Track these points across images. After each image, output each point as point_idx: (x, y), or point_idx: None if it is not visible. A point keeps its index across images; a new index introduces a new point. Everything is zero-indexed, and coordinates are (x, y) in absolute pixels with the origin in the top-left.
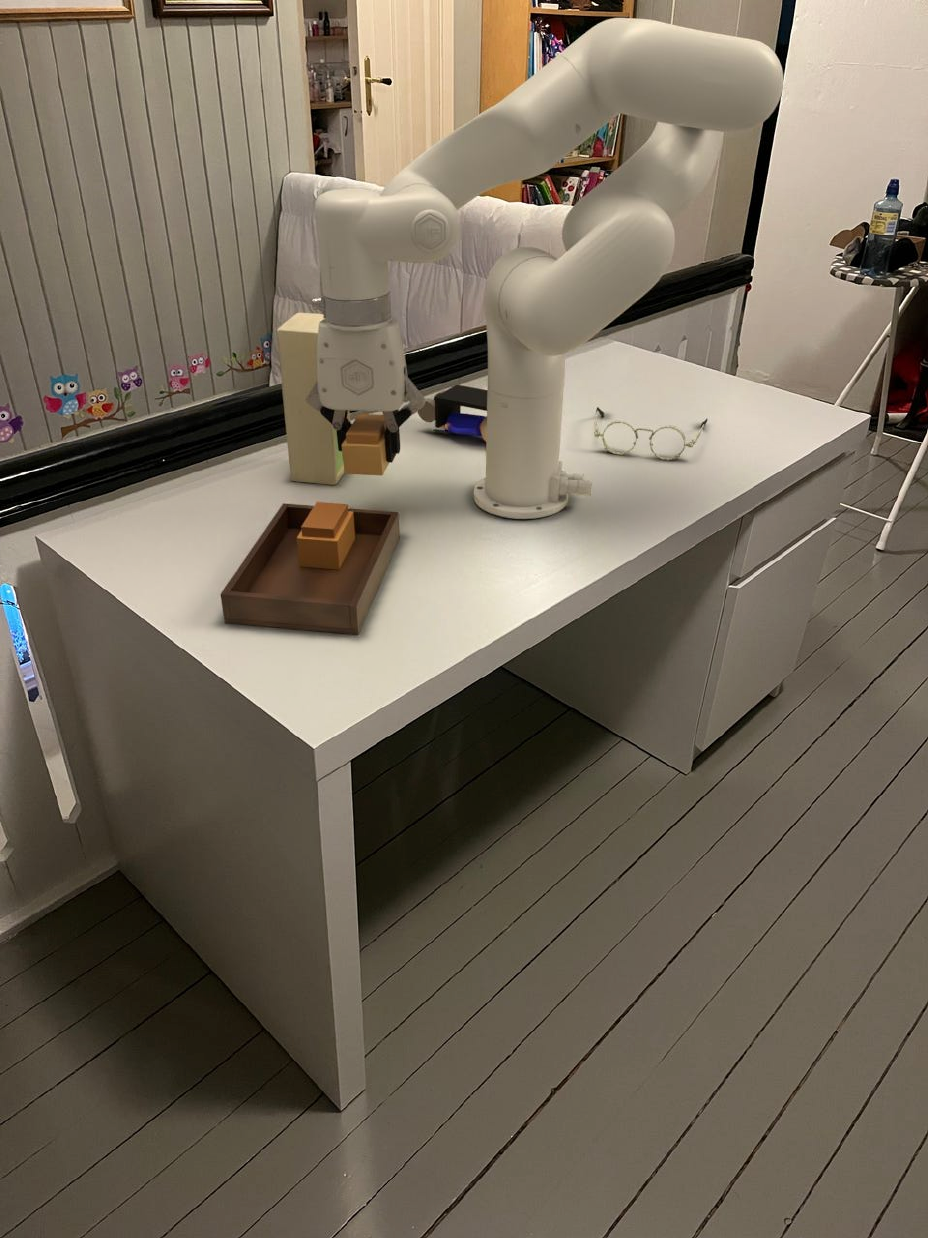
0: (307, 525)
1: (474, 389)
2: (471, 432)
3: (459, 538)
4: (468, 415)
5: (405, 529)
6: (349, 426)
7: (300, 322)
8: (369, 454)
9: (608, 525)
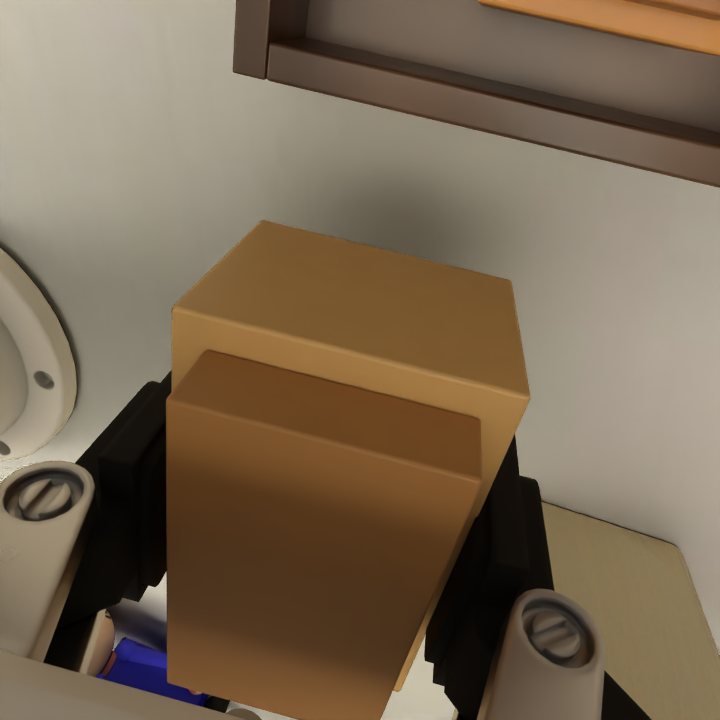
0: None
1: None
2: (129, 645)
3: (48, 46)
4: None
5: (266, 144)
6: (443, 626)
7: None
8: (298, 295)
9: None
